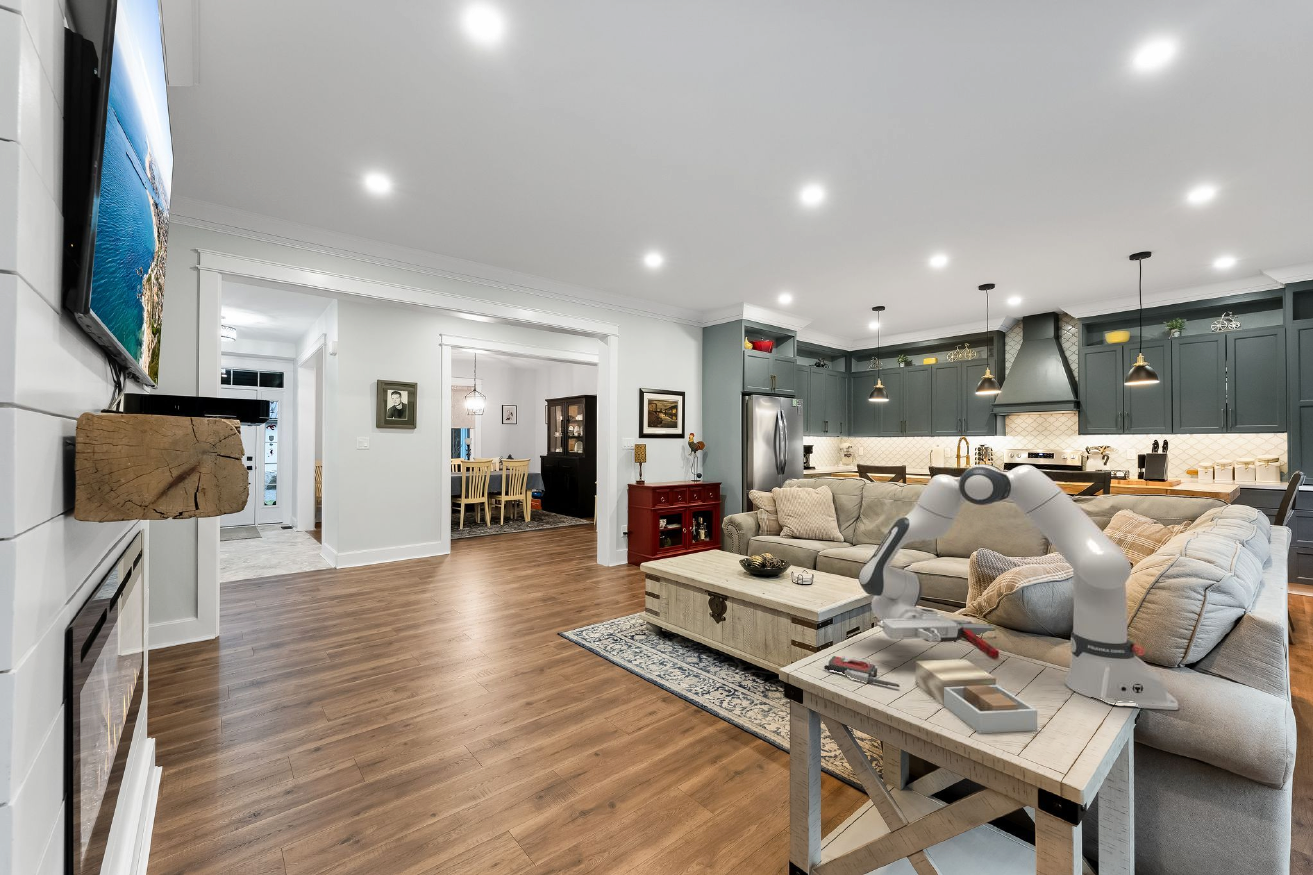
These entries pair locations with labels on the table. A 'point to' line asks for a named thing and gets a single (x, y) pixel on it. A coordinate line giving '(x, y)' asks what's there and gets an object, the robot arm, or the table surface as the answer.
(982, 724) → the grey bin
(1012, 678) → the table surface
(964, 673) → the pale wood block
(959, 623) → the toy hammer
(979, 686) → the walnut block
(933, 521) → the robot arm
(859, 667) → the toy chainsaw
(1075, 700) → the table surface
